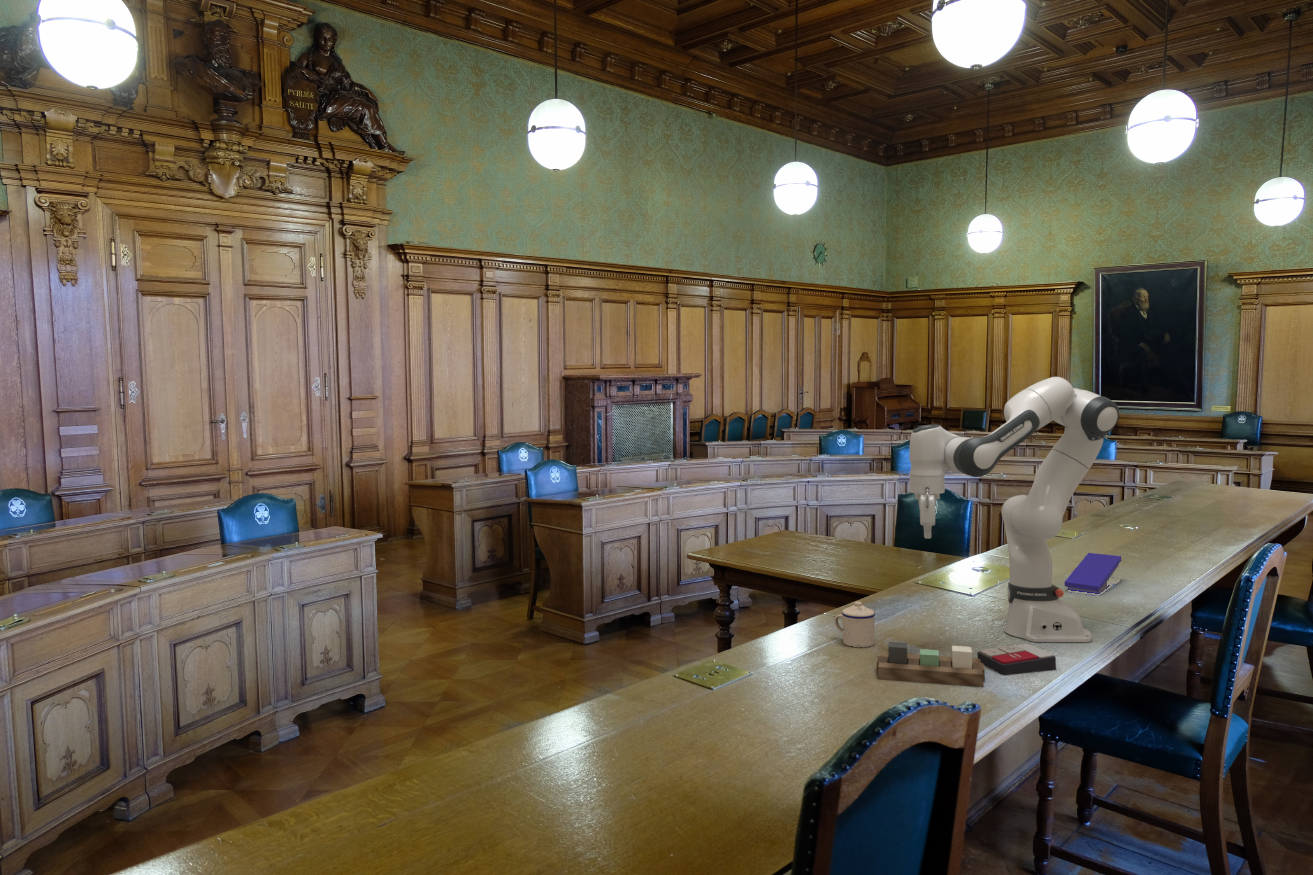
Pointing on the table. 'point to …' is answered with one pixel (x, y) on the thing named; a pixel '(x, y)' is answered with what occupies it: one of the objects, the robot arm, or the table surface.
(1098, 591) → the purple sloped board
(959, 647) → the cream white block
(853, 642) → the teacup with lid
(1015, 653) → the push button box
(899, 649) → the dark grey block
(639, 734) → the table surface
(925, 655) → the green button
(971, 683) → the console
